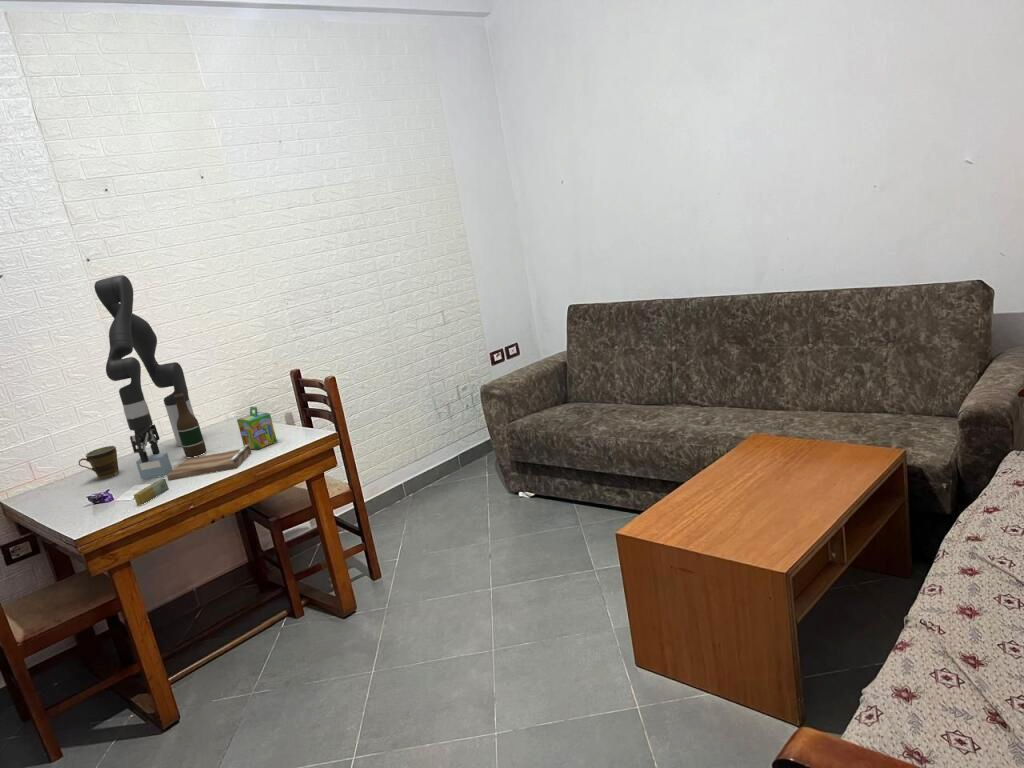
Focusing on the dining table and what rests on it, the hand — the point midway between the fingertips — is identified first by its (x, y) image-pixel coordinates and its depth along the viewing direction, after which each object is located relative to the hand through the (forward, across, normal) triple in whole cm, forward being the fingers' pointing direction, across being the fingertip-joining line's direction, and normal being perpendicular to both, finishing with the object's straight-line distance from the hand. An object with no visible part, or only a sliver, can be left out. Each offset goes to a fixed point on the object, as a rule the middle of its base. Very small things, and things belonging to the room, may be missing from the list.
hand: (151, 458), depth 258 cm
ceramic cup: (+7, -9, -24) cm, 27 cm away
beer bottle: (+6, -18, +7) cm, 21 cm away
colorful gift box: (+7, -16, +33) cm, 37 cm away
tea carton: (+7, 0, 0) cm, 7 cm away
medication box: (+7, +24, +10) cm, 27 cm away
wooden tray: (+7, 0, +20) cm, 21 cm away
